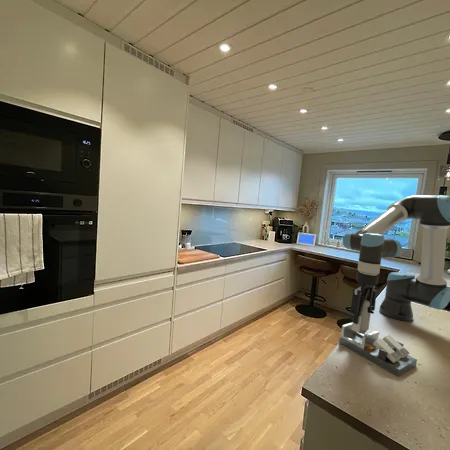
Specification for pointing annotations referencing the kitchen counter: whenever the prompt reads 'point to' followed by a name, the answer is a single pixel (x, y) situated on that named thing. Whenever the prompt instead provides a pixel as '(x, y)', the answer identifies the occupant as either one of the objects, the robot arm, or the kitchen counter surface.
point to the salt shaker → (364, 318)
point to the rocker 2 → (399, 349)
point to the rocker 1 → (390, 352)
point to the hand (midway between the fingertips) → (360, 329)
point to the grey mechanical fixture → (374, 350)
